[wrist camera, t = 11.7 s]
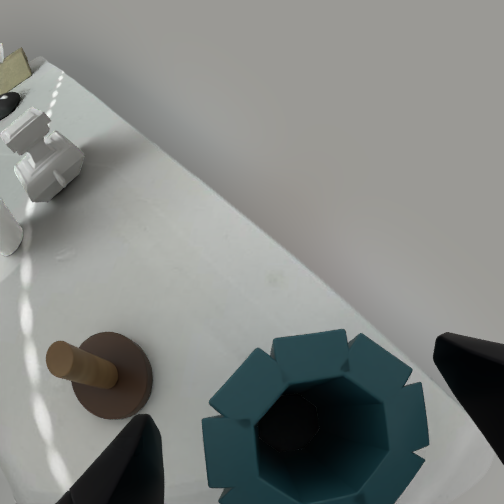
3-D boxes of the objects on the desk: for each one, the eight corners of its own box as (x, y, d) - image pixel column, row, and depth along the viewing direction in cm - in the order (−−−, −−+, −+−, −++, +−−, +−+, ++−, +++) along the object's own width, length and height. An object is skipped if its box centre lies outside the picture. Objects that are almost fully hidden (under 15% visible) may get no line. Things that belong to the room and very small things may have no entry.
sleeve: (344, 459, 13) (432, 501, 5) (240, 474, 13) (216, 547, 5) (332, 366, 16) (408, 315, 8) (230, 379, 16) (196, 343, 7)
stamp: (100, 176, 25) (65, 106, 17) (49, 224, 22) (0, 161, 15) (66, 148, 28) (37, 92, 20) (24, 186, 25) (-12, 133, 18)
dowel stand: (165, 406, 15) (123, 402, 10) (91, 427, 14) (32, 424, 9) (138, 324, 18) (94, 287, 13) (70, 349, 17) (15, 321, 12)
